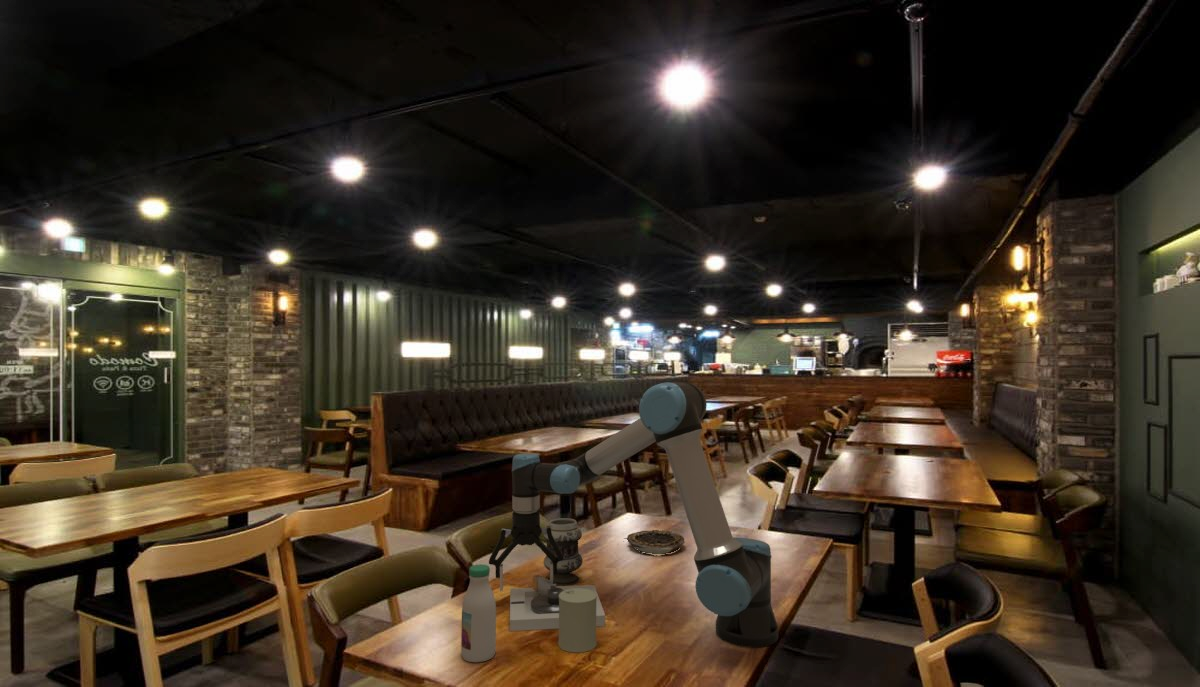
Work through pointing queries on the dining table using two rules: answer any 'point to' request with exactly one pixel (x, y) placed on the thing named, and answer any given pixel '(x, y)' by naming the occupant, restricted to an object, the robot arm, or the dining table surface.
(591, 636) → the can
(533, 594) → the panel
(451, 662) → the dining table surface
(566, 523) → the apothecary jar
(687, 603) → the dining table surface
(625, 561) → the dining table surface
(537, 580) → the dial
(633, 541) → the pie
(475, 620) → the milk bottle
